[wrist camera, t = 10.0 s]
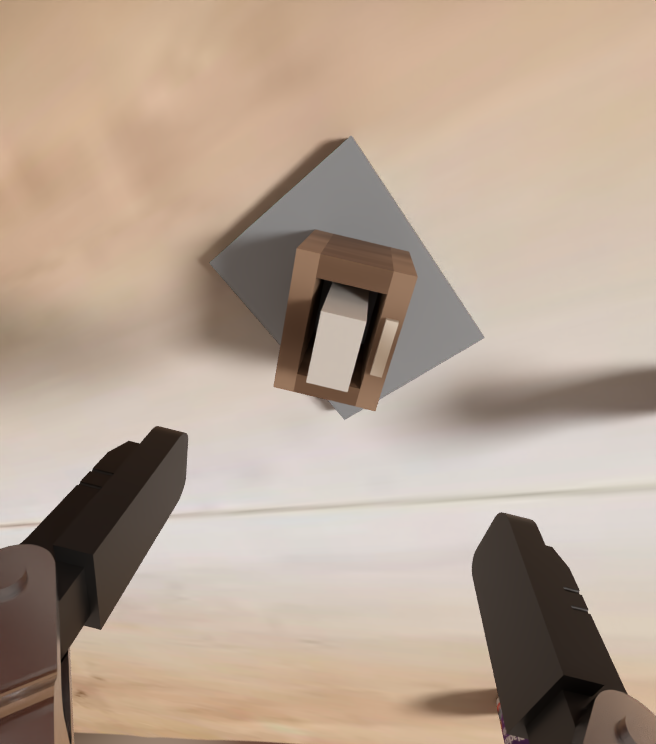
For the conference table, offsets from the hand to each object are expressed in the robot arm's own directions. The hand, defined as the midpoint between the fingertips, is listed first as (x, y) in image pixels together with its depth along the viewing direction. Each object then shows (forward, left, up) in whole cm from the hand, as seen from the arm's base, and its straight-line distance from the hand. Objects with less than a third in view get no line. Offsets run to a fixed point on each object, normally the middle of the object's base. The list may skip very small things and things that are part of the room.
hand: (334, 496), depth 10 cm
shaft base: (+1, -1, -18) cm, 18 cm away
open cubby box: (+1, -1, -17) cm, 17 cm away
